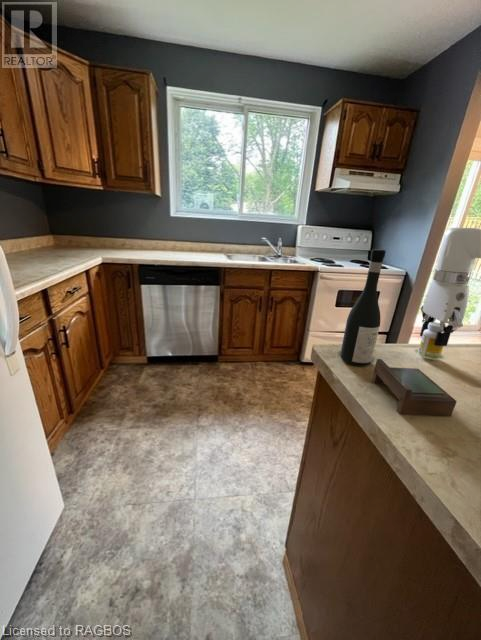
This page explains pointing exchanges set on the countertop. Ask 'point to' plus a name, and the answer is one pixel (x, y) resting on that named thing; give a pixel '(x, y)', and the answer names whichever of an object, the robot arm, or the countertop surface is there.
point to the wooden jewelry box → (414, 391)
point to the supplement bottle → (430, 342)
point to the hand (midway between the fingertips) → (432, 340)
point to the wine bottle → (364, 318)
